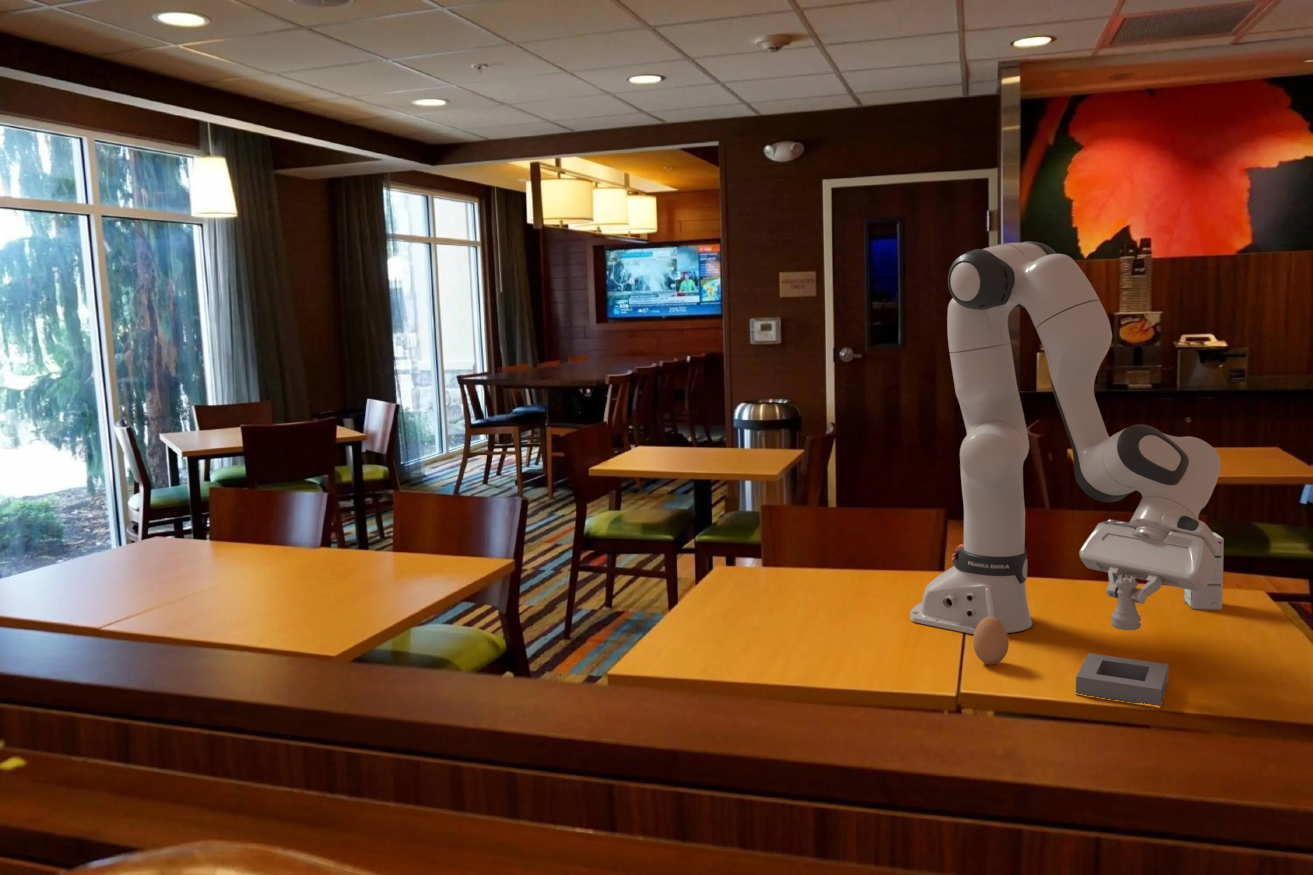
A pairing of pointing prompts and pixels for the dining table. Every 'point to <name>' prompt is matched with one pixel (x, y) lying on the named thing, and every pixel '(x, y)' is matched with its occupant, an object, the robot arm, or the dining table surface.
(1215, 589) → the syrup box
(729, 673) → the dining table surface
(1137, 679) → the socket block
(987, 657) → the egg
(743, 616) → the dining table surface
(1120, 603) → the rook chess piece
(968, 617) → the robot arm
